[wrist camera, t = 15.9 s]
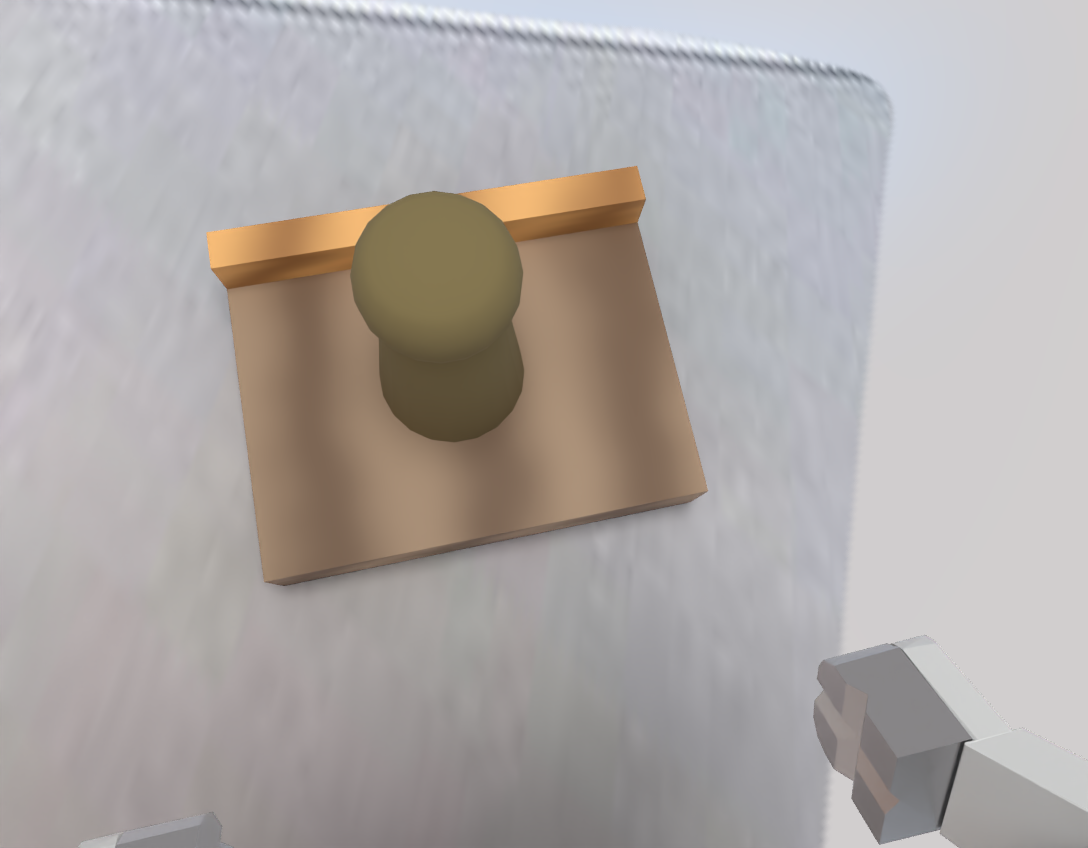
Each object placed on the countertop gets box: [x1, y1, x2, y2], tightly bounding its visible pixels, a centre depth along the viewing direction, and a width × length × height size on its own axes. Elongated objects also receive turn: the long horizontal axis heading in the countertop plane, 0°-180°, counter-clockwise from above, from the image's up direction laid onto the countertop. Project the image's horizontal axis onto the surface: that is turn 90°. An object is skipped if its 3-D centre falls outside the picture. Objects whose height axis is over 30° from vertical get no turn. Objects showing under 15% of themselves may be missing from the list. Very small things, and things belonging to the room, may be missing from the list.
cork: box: [350, 191, 524, 442], centre depth 28 cm, size 6×6×11 cm
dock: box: [207, 166, 708, 586], centre depth 34 cm, size 18×14×5 cm
